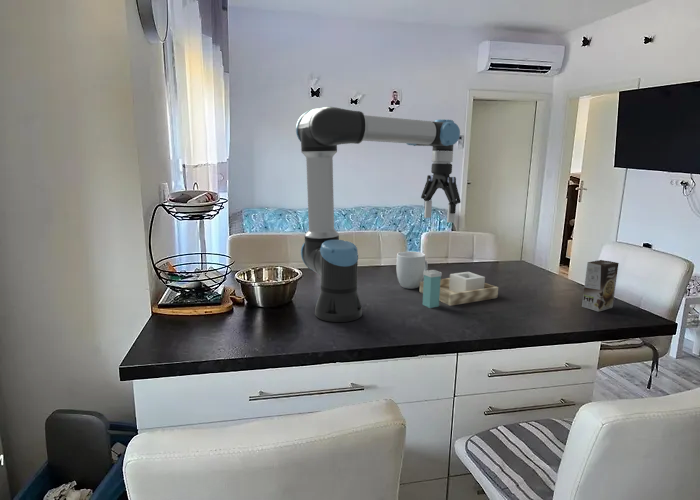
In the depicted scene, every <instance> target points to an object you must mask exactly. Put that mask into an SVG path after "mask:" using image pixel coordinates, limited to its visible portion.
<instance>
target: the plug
mask: <svg viewBox="0 0 700 500" xmlns="http://www.w3.org/2000/svg"><path fill="white" fill-rule="evenodd" d="M442 274H443V273H442V272H441V271H438V270H436V269H430V270H429V269H427V271H423V275H424V277H423V281H424V285H423V293H422V306H425V307H426V308H428V309H432V308H438V307H440V301H439V297H440V280H441V279H442V278H441V277H442Z"/></svg>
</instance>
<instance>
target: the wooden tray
mask: <svg viewBox="0 0 700 500" xmlns="http://www.w3.org/2000/svg"><path fill="white" fill-rule="evenodd" d="M449 283H450V277H446V278H441V280H440V297H439V302H441V303H443V304H445V305H447V306H450V307H451V306H456V305H462V304H469V303H474V302H480V301H486V300H491V299H497V298H499V297H498V295H499V286H496V285H494V284H490V283H487V282H485V284H484V289H477V290H471V291H464V292H458V293H457V292H455V291H452V290H450V289H449ZM423 285H424V280H422V281H421V282H420V285H419V293H421V294H423Z"/></svg>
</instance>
